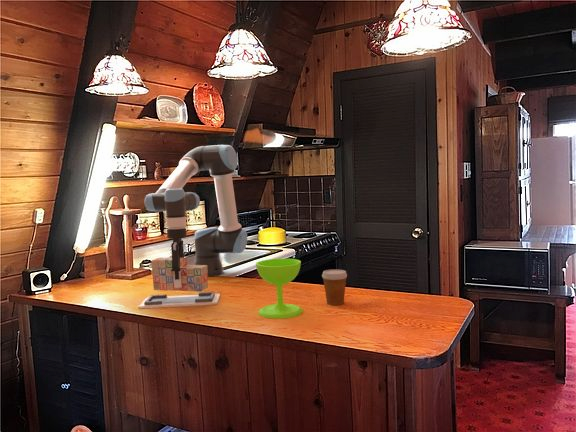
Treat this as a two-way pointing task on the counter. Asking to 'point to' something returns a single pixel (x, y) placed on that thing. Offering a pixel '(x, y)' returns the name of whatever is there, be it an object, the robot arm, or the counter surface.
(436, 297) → the counter surface
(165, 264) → the stack of blocks
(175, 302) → the blueprint board
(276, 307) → the wineglass
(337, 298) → the disposable coffee cup
